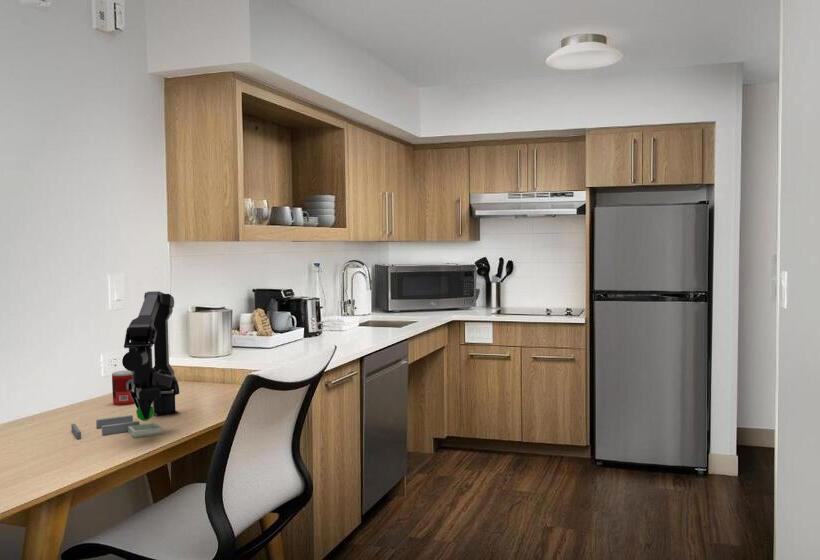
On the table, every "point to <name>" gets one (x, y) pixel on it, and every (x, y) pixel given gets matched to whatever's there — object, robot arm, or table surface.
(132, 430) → the dish
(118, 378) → the canned food
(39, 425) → the table surface
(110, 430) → the channel
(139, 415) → the polyhedron
